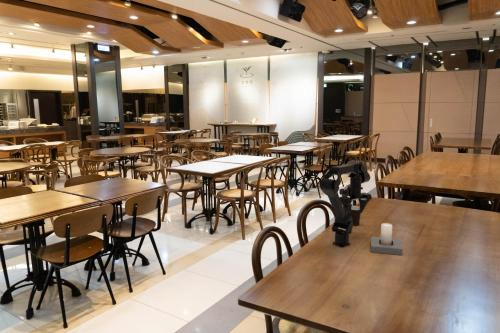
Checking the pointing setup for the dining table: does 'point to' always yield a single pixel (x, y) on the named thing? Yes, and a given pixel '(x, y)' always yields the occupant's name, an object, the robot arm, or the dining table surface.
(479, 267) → the dining table surface
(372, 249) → the collar block
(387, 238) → the peg
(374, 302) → the dining table surface
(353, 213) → the coffee mug
